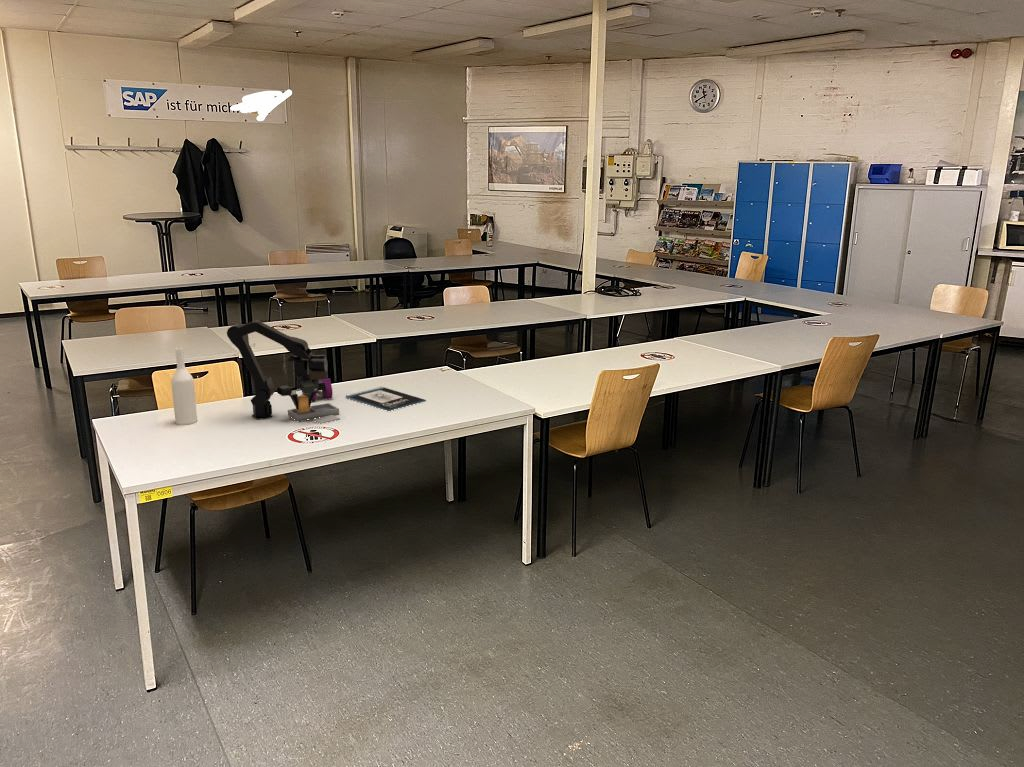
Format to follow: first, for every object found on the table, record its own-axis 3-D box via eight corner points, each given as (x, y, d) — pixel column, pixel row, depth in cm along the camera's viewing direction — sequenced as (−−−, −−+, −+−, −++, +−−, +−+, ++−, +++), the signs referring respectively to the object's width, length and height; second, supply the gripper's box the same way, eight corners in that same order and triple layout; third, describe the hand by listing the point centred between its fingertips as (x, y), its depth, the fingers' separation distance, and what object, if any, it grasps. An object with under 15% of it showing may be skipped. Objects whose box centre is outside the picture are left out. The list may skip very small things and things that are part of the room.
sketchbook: (388, 413, 321) (388, 408, 320) (344, 399, 340) (344, 395, 339) (426, 402, 337) (426, 397, 336) (381, 389, 356) (381, 385, 355)
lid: (320, 425, 304) (320, 422, 303) (312, 422, 308) (312, 419, 307) (340, 420, 310) (339, 418, 309) (332, 417, 314) (331, 414, 313)
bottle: (199, 418, 308) (192, 345, 301) (194, 424, 301) (187, 350, 293) (178, 419, 307) (170, 346, 299) (173, 425, 299) (165, 350, 292)
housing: (297, 421, 306) (296, 416, 305) (288, 415, 313) (287, 409, 313) (339, 414, 316) (338, 408, 315) (329, 408, 324) (328, 402, 323)
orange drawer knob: (299, 413, 308) (298, 399, 306) (294, 410, 312) (293, 396, 310) (311, 411, 311) (311, 397, 309) (306, 408, 315) (306, 394, 313)
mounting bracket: (302, 407, 346) (312, 399, 330) (299, 389, 347) (308, 380, 331) (323, 404, 350) (333, 396, 335) (320, 386, 351) (330, 378, 336)
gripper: (285, 378, 296) (288, 417, 300) (331, 372, 306) (332, 409, 311) (275, 372, 304) (278, 410, 308) (319, 366, 315) (321, 402, 319)
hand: (303, 408), depth 311 cm, fingers closed on orange drawer knob, 4 cm apart
